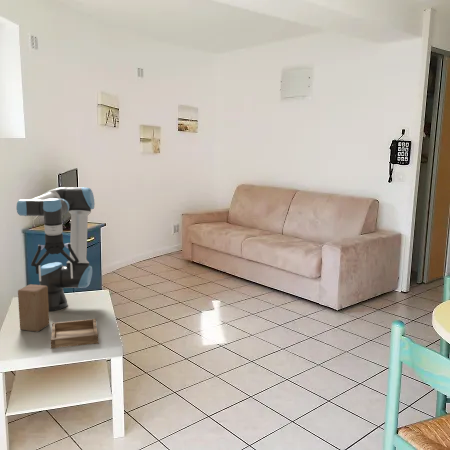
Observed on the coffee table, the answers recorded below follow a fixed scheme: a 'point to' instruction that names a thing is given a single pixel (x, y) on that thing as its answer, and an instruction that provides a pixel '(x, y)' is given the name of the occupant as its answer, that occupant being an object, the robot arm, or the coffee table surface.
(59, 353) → the coffee table surface
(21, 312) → the wooden block
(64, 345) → the crate
